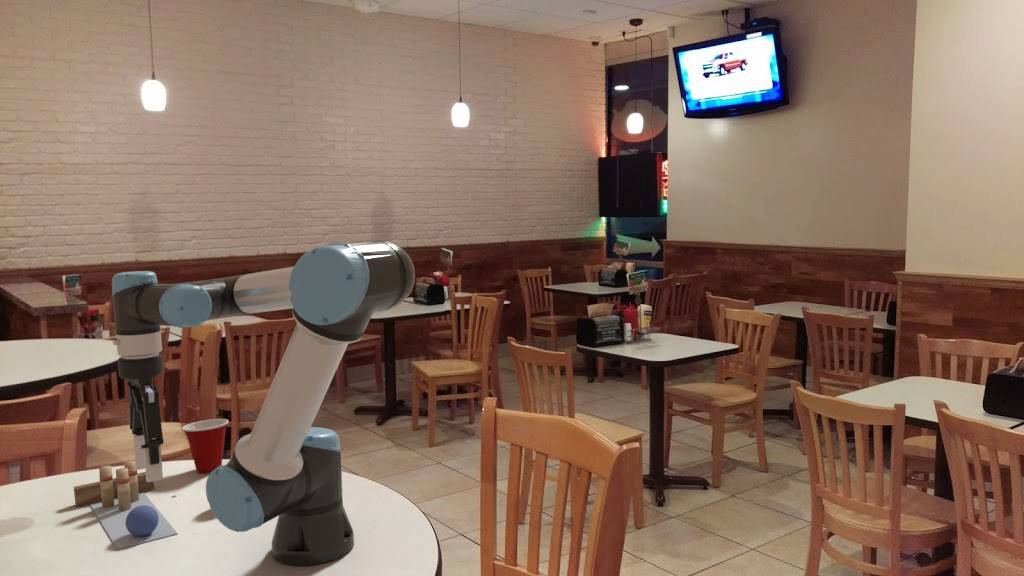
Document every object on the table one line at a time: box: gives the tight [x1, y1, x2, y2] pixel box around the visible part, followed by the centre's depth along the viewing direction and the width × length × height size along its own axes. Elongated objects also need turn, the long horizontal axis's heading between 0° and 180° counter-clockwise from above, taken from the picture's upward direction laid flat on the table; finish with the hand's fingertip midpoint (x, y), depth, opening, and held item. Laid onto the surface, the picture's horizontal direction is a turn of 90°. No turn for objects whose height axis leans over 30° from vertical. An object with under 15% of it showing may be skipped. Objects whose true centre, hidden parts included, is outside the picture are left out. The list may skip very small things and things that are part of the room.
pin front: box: [115, 467, 131, 511], centre depth 169 cm, size 2×2×9 cm
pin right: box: [123, 459, 139, 502], centre depth 174 cm, size 2×2×9 cm
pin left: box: [98, 465, 115, 508], centre depth 171 cm, size 2×2×9 cm
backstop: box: [73, 471, 155, 507], centre depth 178 cm, size 2×16×4 cm, turn 127°
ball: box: [126, 505, 159, 537], centre depth 156 cm, size 6×6×6 cm
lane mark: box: [89, 492, 178, 551], centre depth 165 cm, size 29×11×1 cm, turn 37°
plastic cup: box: [181, 418, 229, 474], centre depth 194 cm, size 11×11×12 cm
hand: (149, 473), depth 147 cm, fingers open, 8 cm apart
